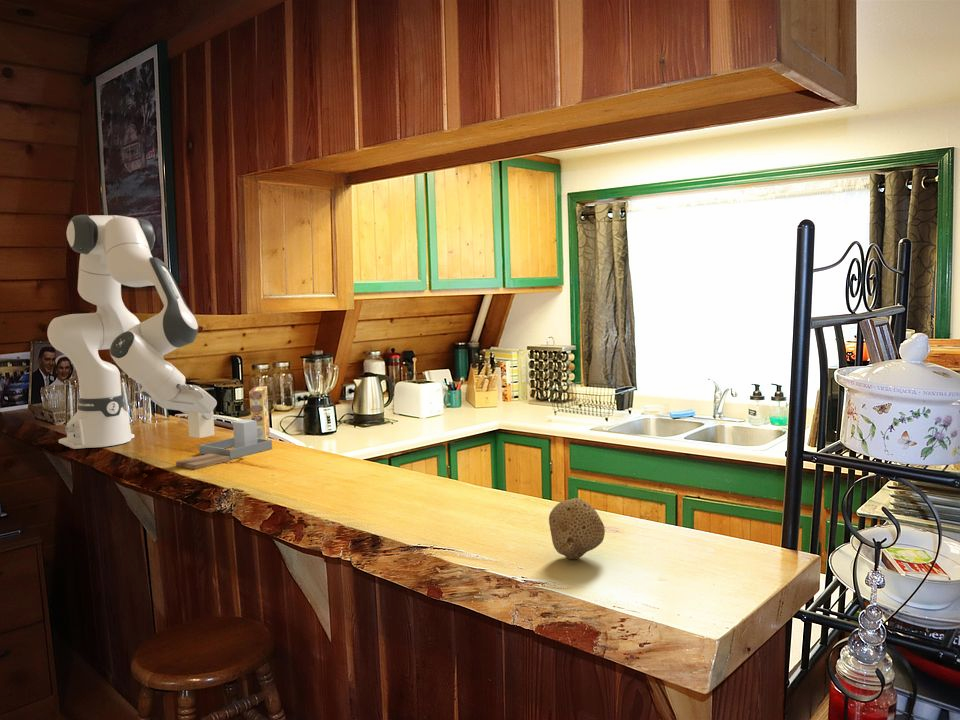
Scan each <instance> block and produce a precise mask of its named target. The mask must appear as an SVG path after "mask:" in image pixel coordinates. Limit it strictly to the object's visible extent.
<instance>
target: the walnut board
mask: <svg viewBox="0 0 960 720" xmlns="http://www.w3.org/2000/svg"><path fill="white" fill-rule="evenodd" d="M227 461H228V462H230V461H231V459H230V457H229V456H223V455H217V454H211V453H210V454H205V455H202V454H200V455H198V456H192V457H189V458H185V459H181V460H176V461H175V465H176V467H180V468H185V469H190V470H195V469H196V470H199V469H198V468H200V469H203V468H202V467H204V468H207V467H206V466H208V467H210V466H209V465H212V466H214V465H213V464H216V465H218V464H217V463H220V464H223V463H222V462H224V463H227Z"/></svg>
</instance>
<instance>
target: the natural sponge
mask: <svg viewBox="0 0 960 720" xmlns="http://www.w3.org/2000/svg"><path fill="white" fill-rule="evenodd" d="M548 524H549V530H550V535H551V541H552V545H553V548H554V549H555V550H556V552H557V553H558V554H559V555H561V556H564V557H565V558H567V559H569V560H577V559H579V558H582V557H583V556H584V555H585V554H586V553H587V552H590V551H592V550H594V549H596V548H597V547H599V546H600V545H601V544H603V541H604V538H605V531H606V530H605V528H606V527H605V525H604V522H603V520H602V519H601V517H600V515H599V514H598V512H597V511H596V509H595V508H594V507H593V506H592V505H591V504H590V503H589V502H587V501H586V500H584V499H581V498H576V497H573V498H570V499H566V500H562V501H560V502H558V503H557V504H556V505H555V506H554V507H553V508H552V510H551V511H550V513H549V517H548Z"/></svg>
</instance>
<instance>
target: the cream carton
mask: <svg viewBox="0 0 960 720" xmlns="http://www.w3.org/2000/svg"><path fill="white" fill-rule="evenodd" d="M211 413H212V414H213V417H212V418H211V420H206V419H205V418H203V417H202V413H199V412H190V411H187V414H188V415H187V414H186V415H187V427H188V436H189V437H190V438H197V439H201V438H207V437H212V436H215V435H216V434H215V417H214V410H213V411H212V412H211Z"/></svg>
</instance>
